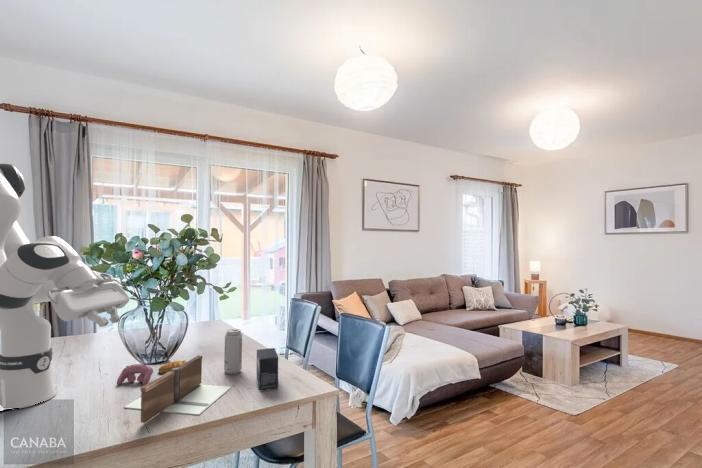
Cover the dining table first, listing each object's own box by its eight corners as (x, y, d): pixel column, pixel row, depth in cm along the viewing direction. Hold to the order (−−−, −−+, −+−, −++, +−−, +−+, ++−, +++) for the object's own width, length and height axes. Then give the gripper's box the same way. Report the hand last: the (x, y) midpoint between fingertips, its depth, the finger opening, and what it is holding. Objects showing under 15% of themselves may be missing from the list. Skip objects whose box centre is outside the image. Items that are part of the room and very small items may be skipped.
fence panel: (140, 422, 97) (140, 387, 97) (169, 402, 109) (169, 371, 109) (145, 423, 97) (146, 388, 97) (174, 402, 109) (174, 371, 109)
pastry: (157, 376, 131) (157, 365, 131) (159, 370, 137) (159, 359, 137) (186, 373, 134) (186, 362, 134) (187, 367, 141) (187, 357, 141)
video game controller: (151, 386, 126) (156, 364, 129) (145, 385, 122) (150, 362, 125) (121, 386, 125) (127, 364, 129) (114, 385, 121) (120, 362, 124)
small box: (255, 379, 130) (255, 348, 130) (274, 377, 132) (274, 347, 132) (258, 391, 120) (258, 358, 120) (278, 389, 122) (279, 356, 122)
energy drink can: (224, 369, 138) (225, 328, 138) (241, 368, 140) (242, 328, 140) (223, 375, 132) (224, 333, 133) (241, 374, 134) (242, 332, 134)
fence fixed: (168, 404, 109) (169, 370, 109) (196, 385, 124) (197, 354, 124) (175, 405, 109) (176, 370, 109) (202, 385, 123) (203, 355, 123)
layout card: (123, 408, 107) (123, 406, 107) (166, 382, 125) (166, 381, 125) (199, 415, 103) (199, 413, 103) (231, 387, 122) (231, 386, 122)
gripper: (51, 282, 92) (85, 324, 91) (115, 274, 112) (144, 308, 111) (35, 299, 93) (69, 341, 91) (102, 288, 113) (130, 322, 112)
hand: (111, 323), depth 101 cm, fingers open, 3 cm apart
